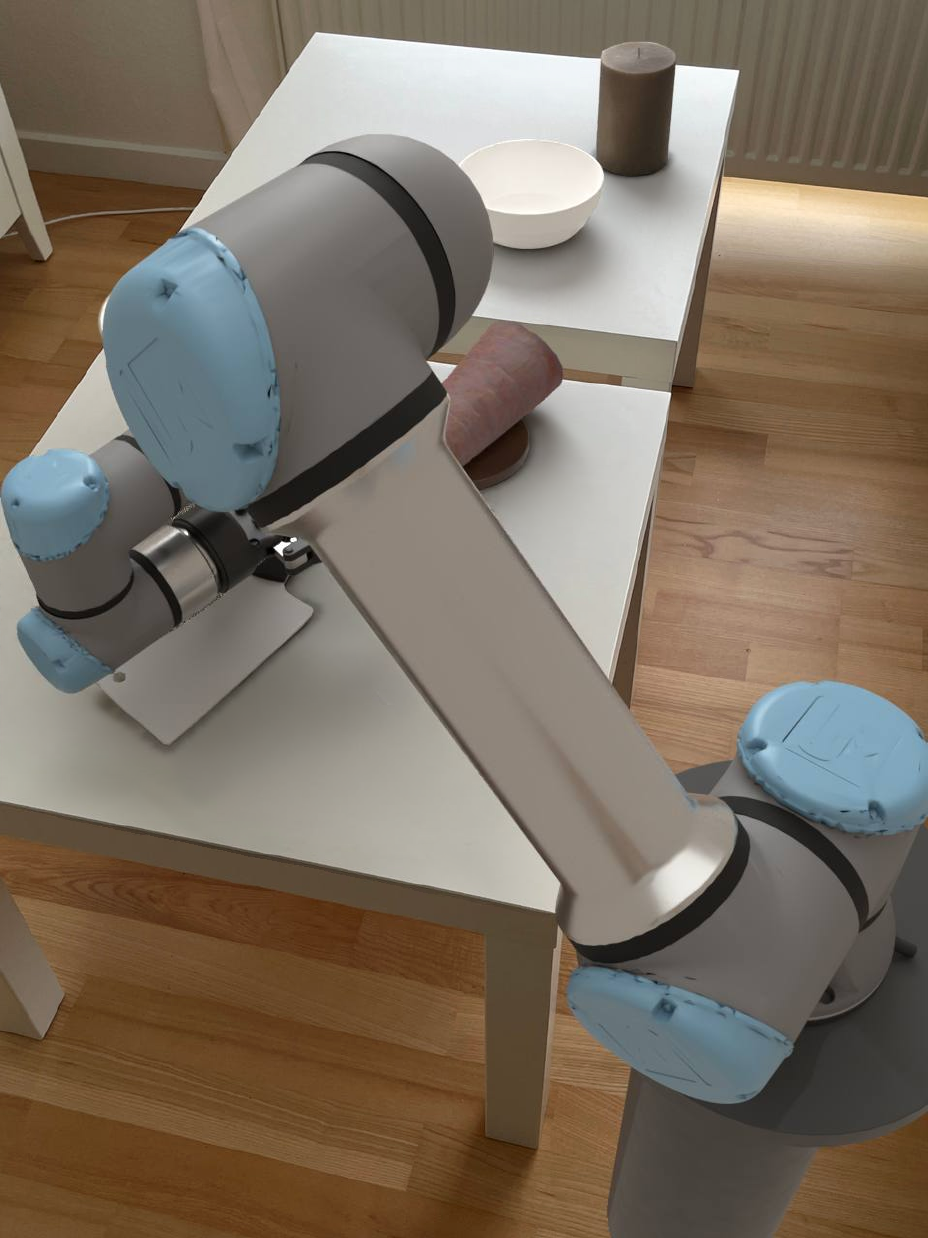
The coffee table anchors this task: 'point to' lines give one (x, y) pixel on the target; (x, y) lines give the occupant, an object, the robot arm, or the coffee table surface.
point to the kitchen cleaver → (208, 654)
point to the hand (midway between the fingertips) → (375, 438)
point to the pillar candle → (635, 107)
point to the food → (497, 387)
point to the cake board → (500, 457)
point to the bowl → (535, 190)
